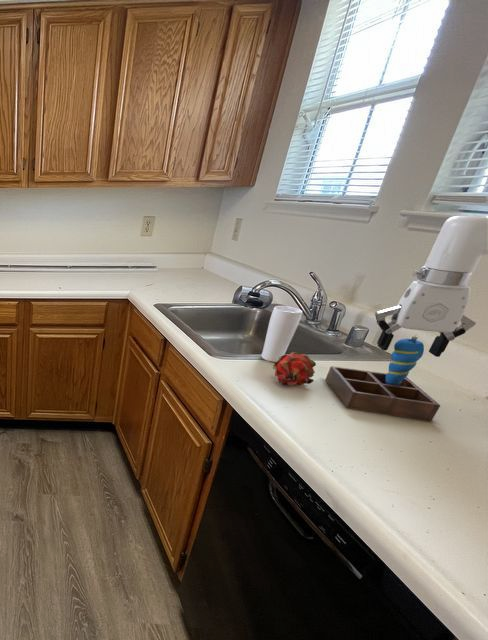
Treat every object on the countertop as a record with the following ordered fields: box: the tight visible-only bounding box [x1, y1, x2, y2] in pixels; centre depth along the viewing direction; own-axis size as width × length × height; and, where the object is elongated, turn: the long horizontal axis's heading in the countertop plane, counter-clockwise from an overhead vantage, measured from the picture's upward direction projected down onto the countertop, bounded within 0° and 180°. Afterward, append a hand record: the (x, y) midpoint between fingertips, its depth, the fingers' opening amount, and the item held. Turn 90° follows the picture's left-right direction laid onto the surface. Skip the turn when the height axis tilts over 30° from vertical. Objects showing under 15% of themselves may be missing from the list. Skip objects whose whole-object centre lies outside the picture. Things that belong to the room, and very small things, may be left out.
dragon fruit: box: [272, 351, 317, 387], centre depth 105 cm, size 8×8×12 cm
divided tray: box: [324, 365, 441, 422], centre depth 99 cm, size 15×15×4 cm
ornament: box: [386, 333, 425, 386], centre depth 98 cm, size 5×5×15 cm
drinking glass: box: [260, 305, 303, 363], centre depth 117 cm, size 7×7×15 cm
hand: (407, 351), depth 97 cm, fingers open, 9 cm apart
